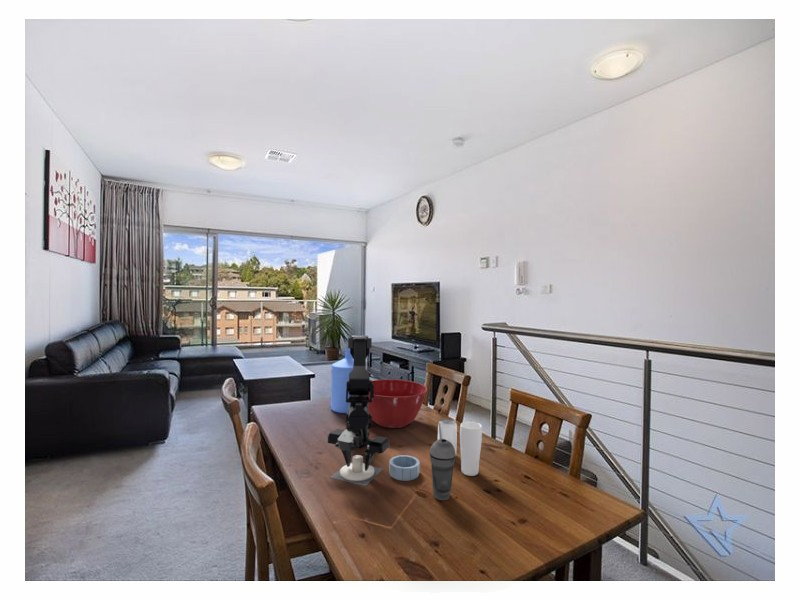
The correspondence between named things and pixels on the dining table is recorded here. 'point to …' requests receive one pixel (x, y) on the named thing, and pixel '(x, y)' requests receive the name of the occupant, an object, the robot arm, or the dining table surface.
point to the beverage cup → (442, 467)
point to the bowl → (404, 467)
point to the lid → (356, 470)
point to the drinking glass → (470, 447)
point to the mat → (363, 483)
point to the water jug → (341, 383)
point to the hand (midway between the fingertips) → (357, 468)
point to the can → (448, 431)
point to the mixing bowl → (396, 402)
